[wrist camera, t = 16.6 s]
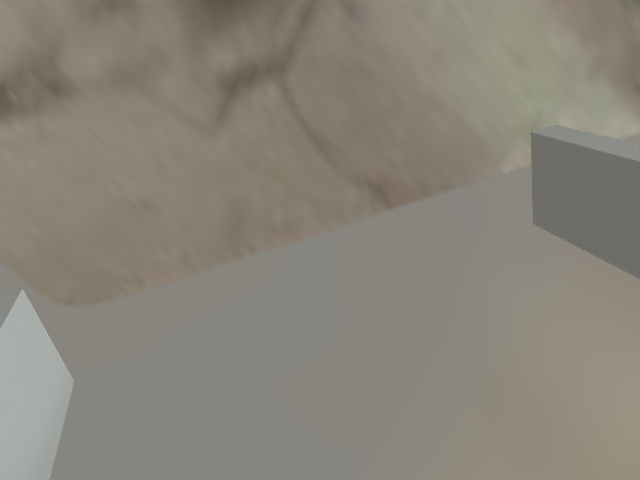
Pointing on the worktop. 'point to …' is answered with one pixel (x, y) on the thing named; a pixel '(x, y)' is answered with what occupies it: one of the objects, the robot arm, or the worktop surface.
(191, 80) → the worktop surface
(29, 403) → the robot arm
